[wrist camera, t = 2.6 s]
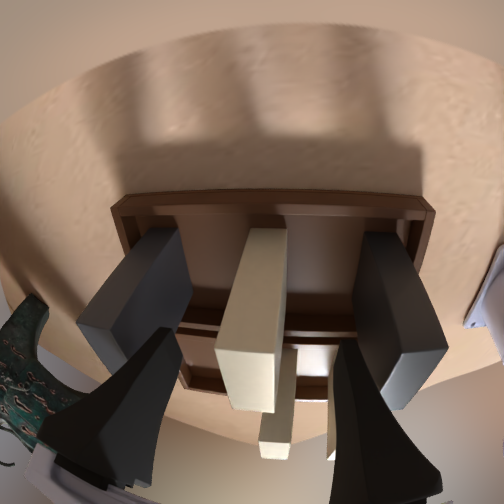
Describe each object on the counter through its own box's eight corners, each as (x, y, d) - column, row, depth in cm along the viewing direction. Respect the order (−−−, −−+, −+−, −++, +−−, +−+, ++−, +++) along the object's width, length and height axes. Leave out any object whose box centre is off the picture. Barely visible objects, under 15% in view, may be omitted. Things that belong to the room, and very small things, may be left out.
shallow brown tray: (386, 323, 18) (391, 343, 17) (359, 384, 23) (361, 401, 22) (163, 312, 21) (154, 330, 19) (188, 373, 26) (183, 389, 24)
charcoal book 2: (396, 232, 14) (450, 347, 7) (379, 299, 17) (403, 410, 10) (363, 230, 14) (402, 352, 8) (351, 298, 17) (364, 413, 10)
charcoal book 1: (178, 227, 16) (109, 330, 9) (194, 292, 19) (150, 393, 12) (149, 227, 16) (74, 321, 10) (167, 290, 19) (119, 384, 12)
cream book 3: (361, 345, 19) (370, 441, 13) (349, 378, 22) (351, 459, 16) (336, 346, 20) (339, 443, 13) (327, 378, 22) (326, 460, 16)
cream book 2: (298, 345, 20) (290, 443, 14) (294, 377, 23) (287, 459, 16) (272, 344, 20) (257, 441, 14) (272, 376, 23) (260, 457, 17)
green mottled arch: (23, 302, 26) (-50, 414, 10) (21, 273, 23) (-70, 402, 6) (145, 387, 31) (96, 517, 14) (161, 373, 27) (104, 530, 11)
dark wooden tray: (422, 196, 13) (436, 211, 11) (389, 316, 18) (394, 336, 16) (126, 194, 15) (109, 207, 14) (160, 305, 21) (151, 323, 19)
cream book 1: (287, 228, 15) (275, 352, 8) (286, 297, 18) (275, 413, 11) (250, 227, 15) (213, 347, 9) (255, 296, 18) (231, 409, 11)
